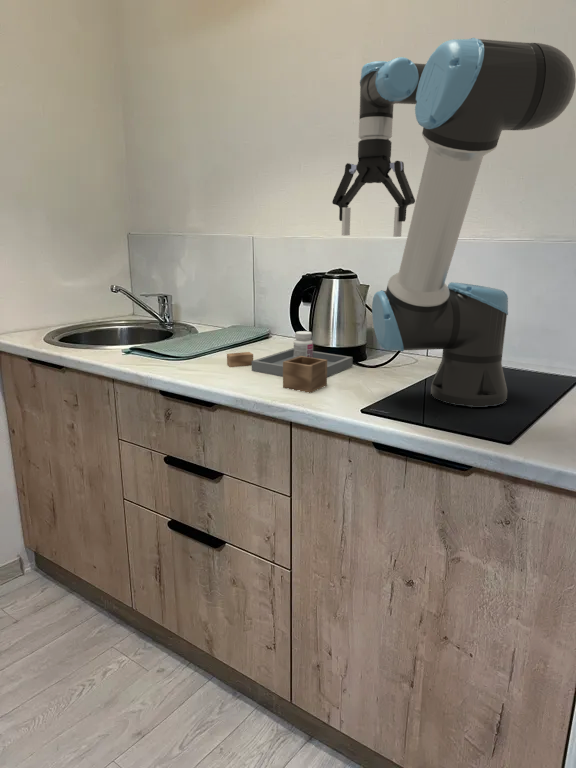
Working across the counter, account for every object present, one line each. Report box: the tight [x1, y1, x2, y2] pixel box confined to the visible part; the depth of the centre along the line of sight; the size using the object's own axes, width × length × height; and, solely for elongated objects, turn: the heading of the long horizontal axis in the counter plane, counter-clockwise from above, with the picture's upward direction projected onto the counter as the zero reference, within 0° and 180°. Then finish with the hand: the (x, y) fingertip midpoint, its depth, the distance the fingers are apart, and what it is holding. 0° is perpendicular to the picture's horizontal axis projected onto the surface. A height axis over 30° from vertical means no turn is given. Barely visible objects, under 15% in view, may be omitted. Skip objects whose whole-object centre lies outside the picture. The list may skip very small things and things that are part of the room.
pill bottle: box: [293, 330, 314, 358], centre depth 140 cm, size 5×5×8 cm
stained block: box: [226, 351, 254, 368], centre depth 145 cm, size 6×3×3 cm, turn 112°
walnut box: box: [282, 356, 328, 394], centre depth 126 cm, size 7×7×6 cm
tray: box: [251, 347, 354, 378], centre depth 141 cm, size 18×18×2 cm
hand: (370, 236), depth 137 cm, fingers open, 13 cm apart
